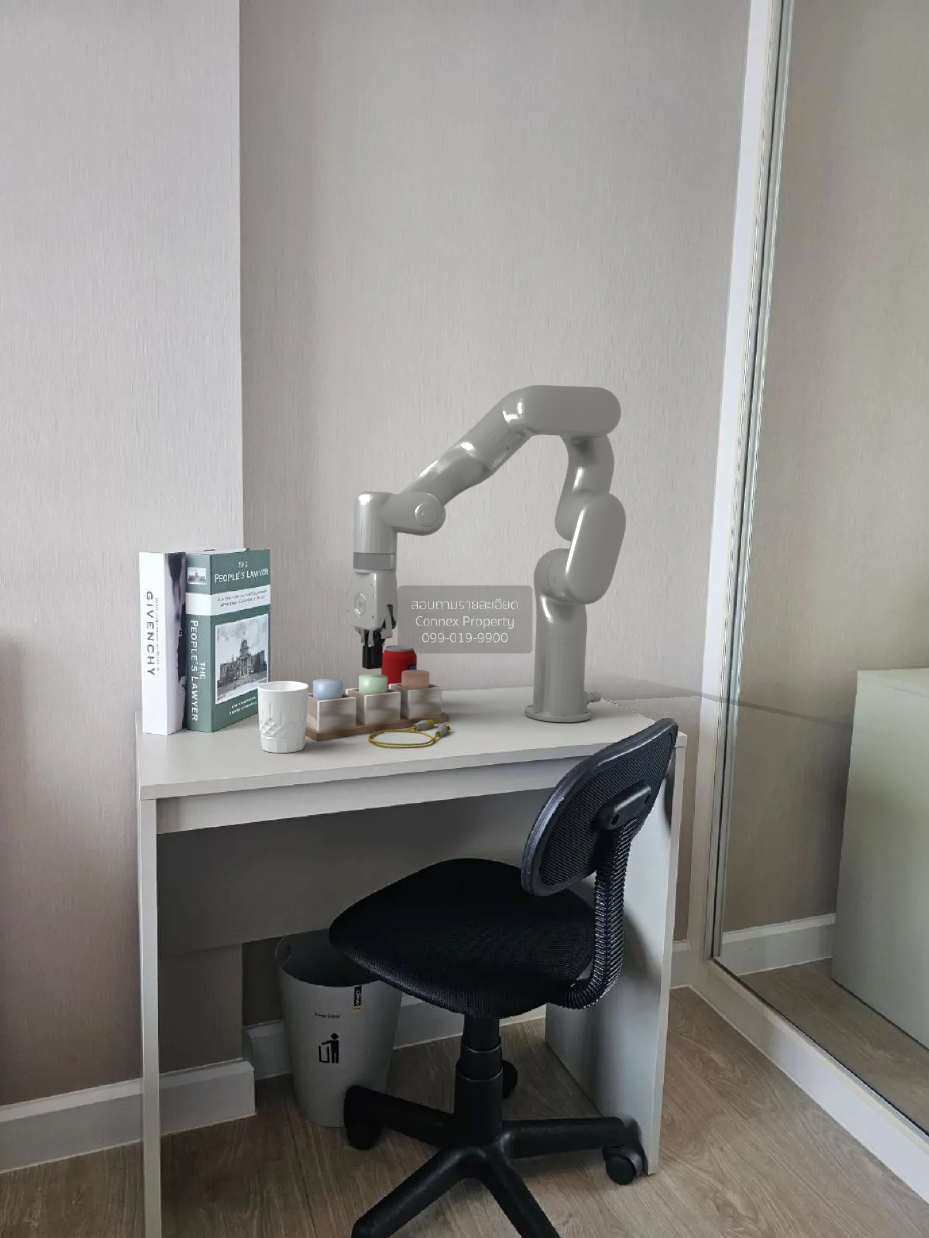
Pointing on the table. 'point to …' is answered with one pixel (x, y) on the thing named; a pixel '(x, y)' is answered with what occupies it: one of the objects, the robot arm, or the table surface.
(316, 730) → the button board
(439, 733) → the extension cord
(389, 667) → the beverage can
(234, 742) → the table surface
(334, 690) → the slate blue cap
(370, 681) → the sage green cap
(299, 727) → the white cup
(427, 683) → the pink rounded cylinder
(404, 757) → the table surface
